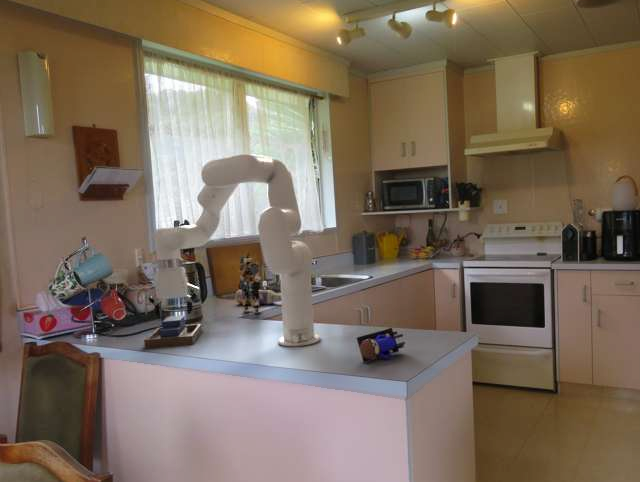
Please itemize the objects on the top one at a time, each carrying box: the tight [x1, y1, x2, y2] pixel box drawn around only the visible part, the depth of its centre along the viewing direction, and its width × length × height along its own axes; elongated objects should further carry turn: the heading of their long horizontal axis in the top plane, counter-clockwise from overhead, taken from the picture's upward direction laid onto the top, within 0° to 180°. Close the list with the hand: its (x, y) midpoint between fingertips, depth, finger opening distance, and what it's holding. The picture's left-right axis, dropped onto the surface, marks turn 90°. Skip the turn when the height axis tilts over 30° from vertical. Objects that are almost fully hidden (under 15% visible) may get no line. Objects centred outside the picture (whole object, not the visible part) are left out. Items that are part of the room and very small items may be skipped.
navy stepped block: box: [160, 314, 187, 338], centre depth 180 cm, size 6×14×6 cm, turn 10°
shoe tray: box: [143, 323, 203, 350], centre depth 181 cm, size 20×15×3 cm
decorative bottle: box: [234, 289, 281, 306], centre depth 245 cm, size 26×8×7 cm, turn 68°
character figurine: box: [356, 327, 406, 363], centre depth 144 cm, size 8×7×15 cm
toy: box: [237, 252, 263, 316], centre depth 222 cm, size 14×9×25 cm, turn 47°
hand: (174, 315), depth 181 cm, fingers open, 9 cm apart
